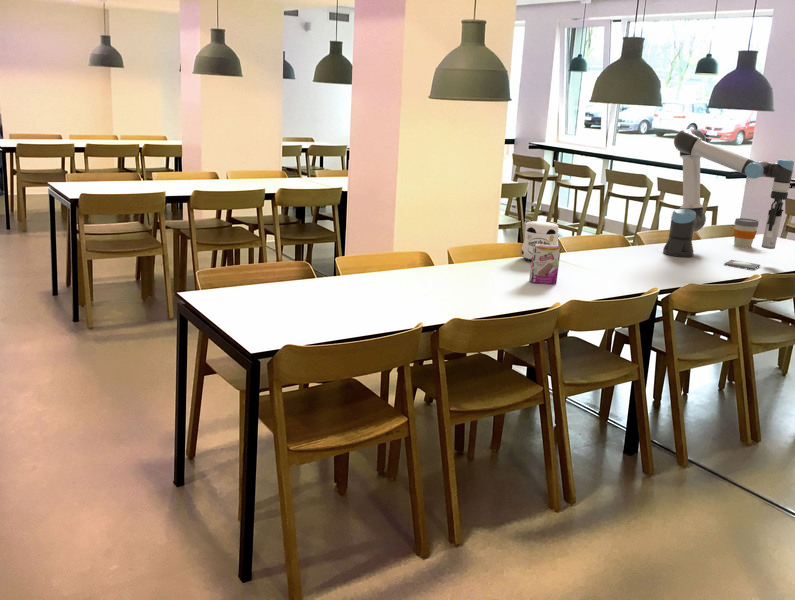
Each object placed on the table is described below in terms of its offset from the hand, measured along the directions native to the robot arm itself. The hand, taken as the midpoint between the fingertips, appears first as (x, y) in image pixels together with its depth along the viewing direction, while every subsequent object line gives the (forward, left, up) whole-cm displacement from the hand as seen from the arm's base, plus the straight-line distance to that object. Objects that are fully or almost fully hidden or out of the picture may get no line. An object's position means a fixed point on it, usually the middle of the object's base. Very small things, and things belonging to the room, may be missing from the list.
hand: (770, 236), depth 388 cm
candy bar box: (-59, -128, -15) cm, 142 cm away
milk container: (-82, -90, -15) cm, 122 cm away
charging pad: (-8, -14, -15) cm, 22 cm away
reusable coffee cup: (-24, +45, -15) cm, 53 cm away
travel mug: (0, 0, -6) cm, 6 cm away
